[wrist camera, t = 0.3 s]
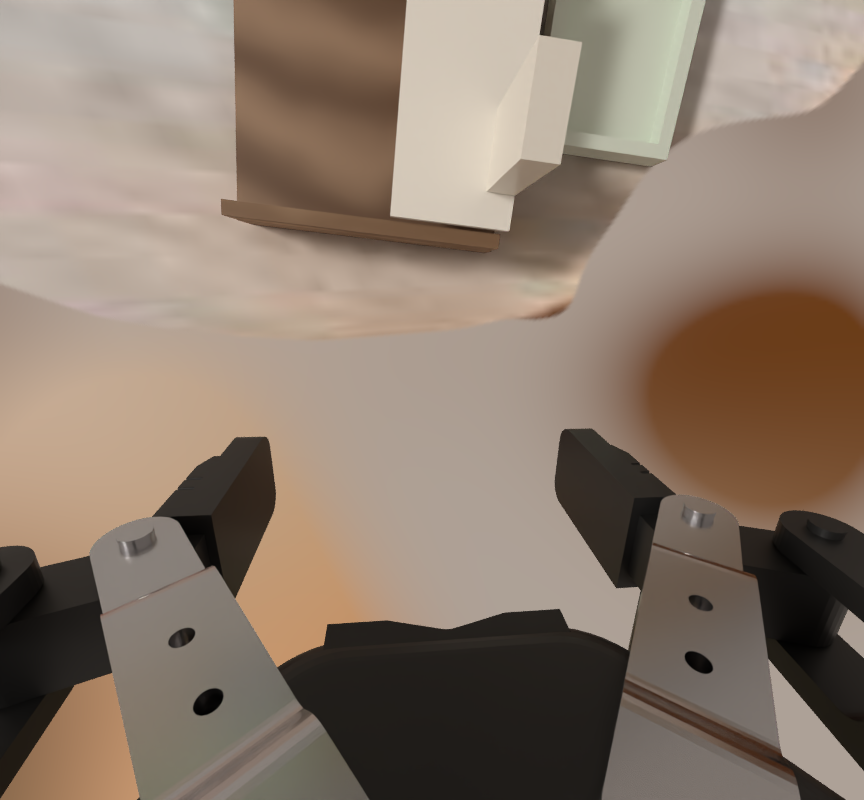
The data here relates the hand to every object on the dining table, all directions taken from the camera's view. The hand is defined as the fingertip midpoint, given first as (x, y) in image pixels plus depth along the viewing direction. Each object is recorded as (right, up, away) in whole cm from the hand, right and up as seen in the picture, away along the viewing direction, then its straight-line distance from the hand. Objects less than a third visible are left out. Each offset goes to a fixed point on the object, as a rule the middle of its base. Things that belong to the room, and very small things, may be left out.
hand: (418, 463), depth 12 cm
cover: (+3, +23, +16) cm, 28 cm away
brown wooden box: (-4, +25, +22) cm, 34 cm away
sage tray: (+14, +28, +22) cm, 39 cm away
